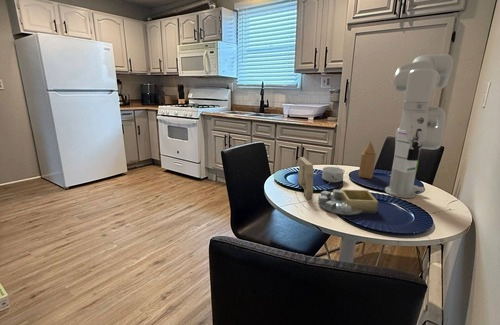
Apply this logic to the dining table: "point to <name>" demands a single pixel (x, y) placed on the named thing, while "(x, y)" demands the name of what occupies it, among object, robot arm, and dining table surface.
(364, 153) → the decorative item
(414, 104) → the robot arm
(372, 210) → the beige and grey tray
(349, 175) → the dining table surface
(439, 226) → the dining table surface
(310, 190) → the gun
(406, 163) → the syrup box
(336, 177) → the saucepan
